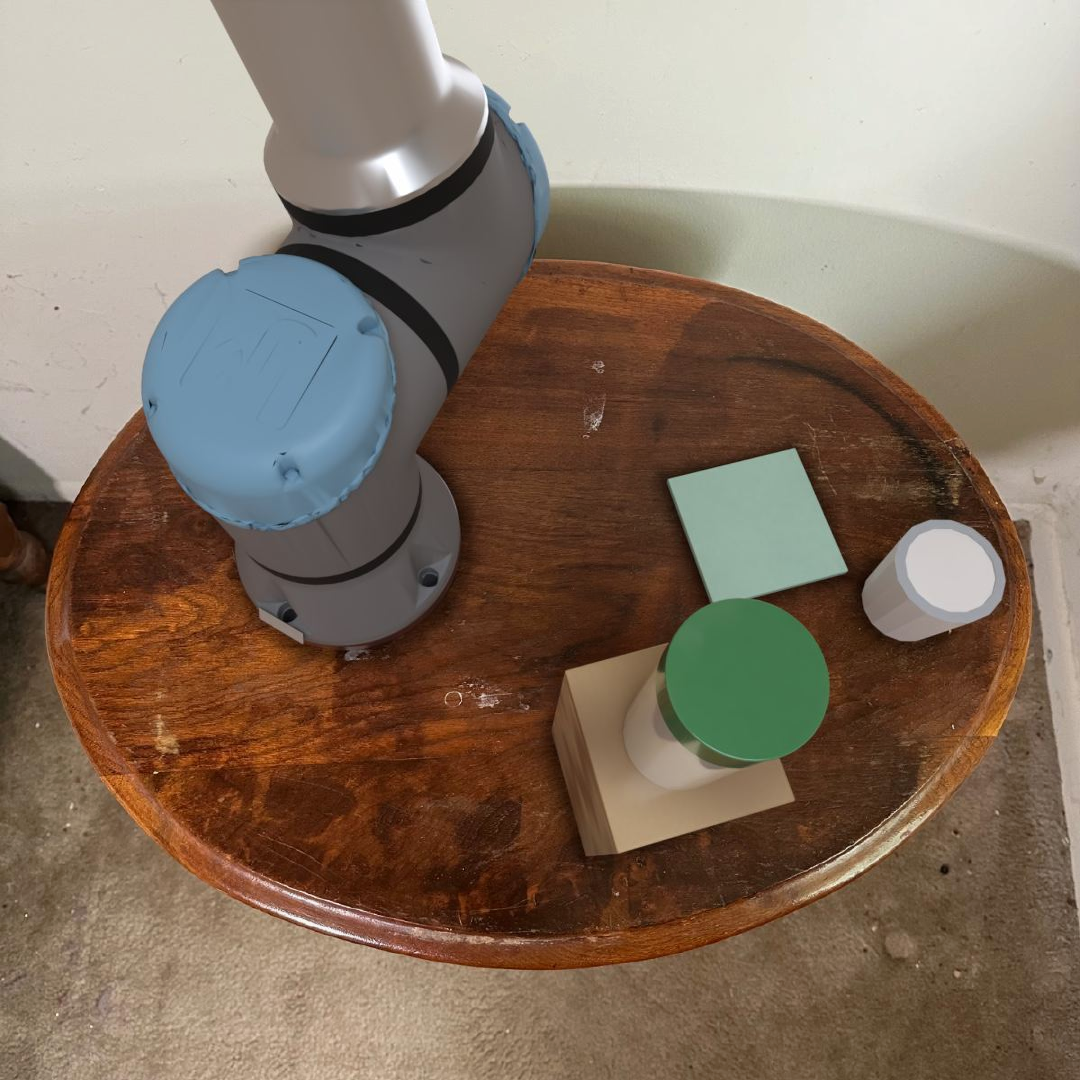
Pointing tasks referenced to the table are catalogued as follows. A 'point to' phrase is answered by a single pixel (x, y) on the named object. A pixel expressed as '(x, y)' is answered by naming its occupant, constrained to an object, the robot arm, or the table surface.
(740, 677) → the cylinder
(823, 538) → the mat
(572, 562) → the table surface
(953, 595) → the grey white cylinder
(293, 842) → the table surface
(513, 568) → the table surface
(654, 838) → the plinth
